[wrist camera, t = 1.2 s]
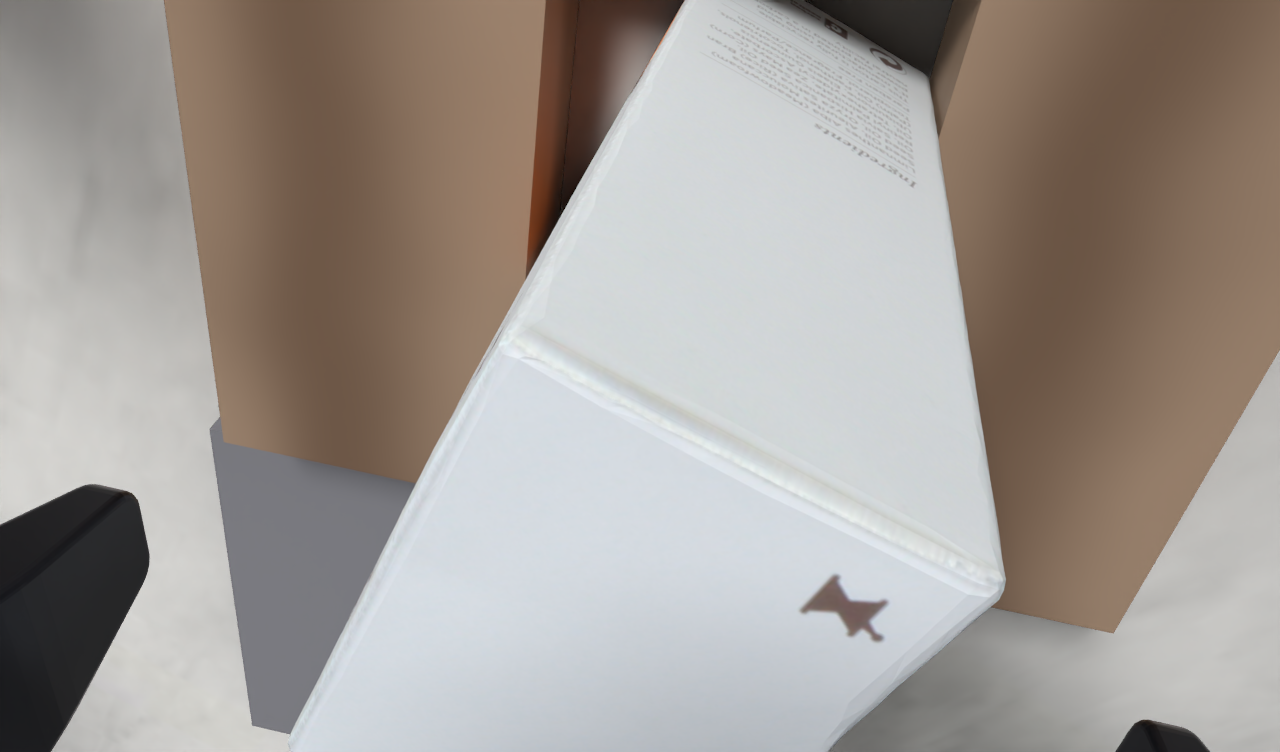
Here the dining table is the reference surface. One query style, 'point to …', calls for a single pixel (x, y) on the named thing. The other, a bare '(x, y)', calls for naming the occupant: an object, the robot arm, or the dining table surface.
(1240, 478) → the dining table surface
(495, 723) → the skincare box
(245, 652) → the coaster
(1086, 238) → the holder block
